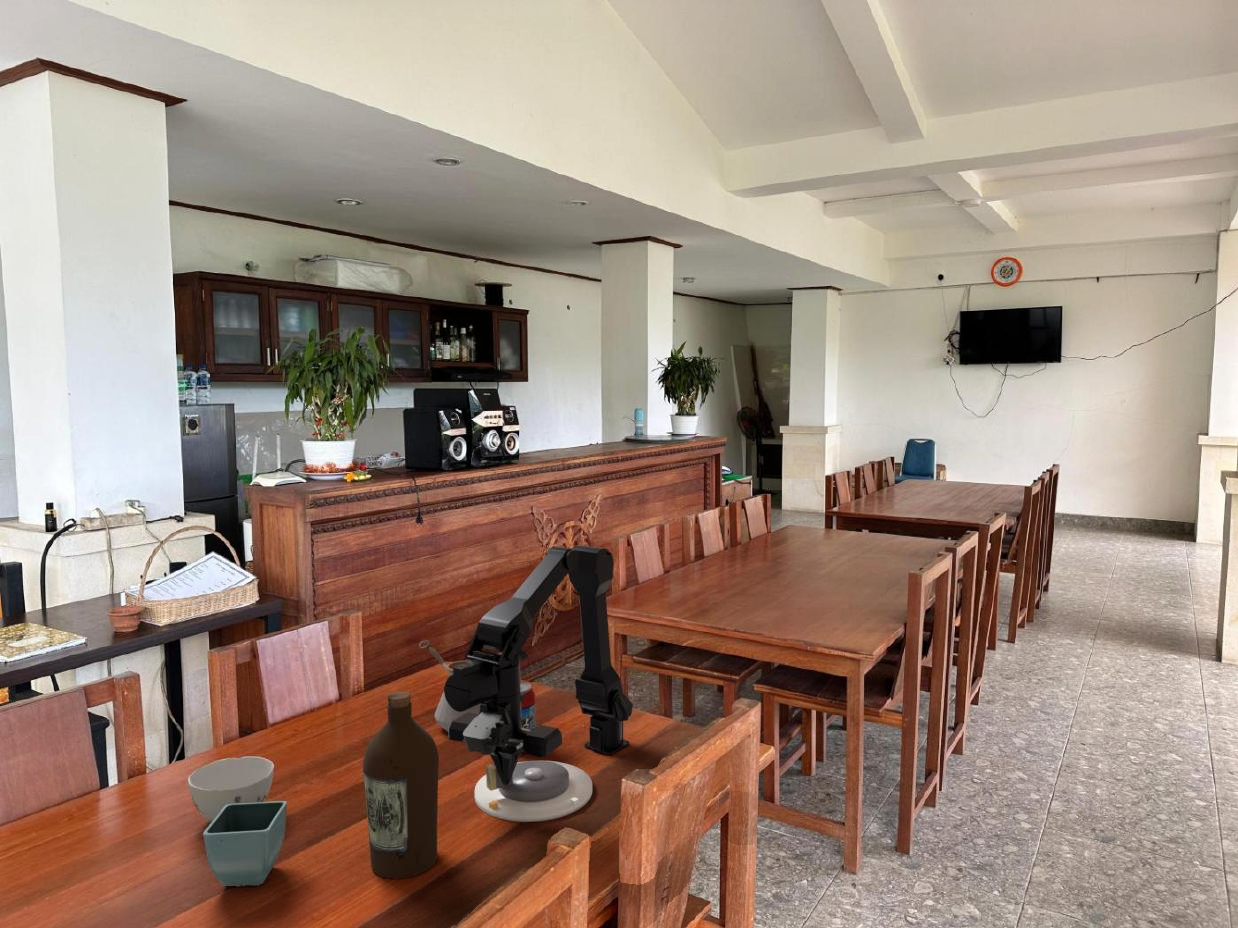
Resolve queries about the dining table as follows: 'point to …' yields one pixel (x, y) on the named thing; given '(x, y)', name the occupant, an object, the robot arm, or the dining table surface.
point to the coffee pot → (444, 711)
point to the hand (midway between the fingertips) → (506, 783)
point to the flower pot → (245, 841)
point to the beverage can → (528, 707)
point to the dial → (530, 781)
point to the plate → (537, 810)
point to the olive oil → (401, 794)
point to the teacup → (230, 783)
